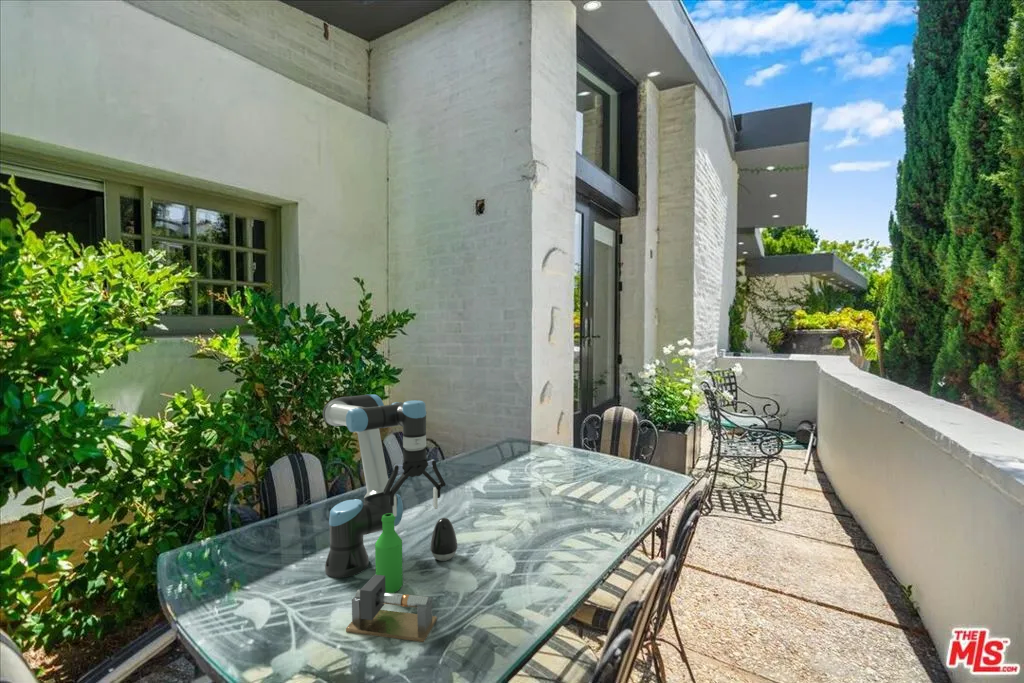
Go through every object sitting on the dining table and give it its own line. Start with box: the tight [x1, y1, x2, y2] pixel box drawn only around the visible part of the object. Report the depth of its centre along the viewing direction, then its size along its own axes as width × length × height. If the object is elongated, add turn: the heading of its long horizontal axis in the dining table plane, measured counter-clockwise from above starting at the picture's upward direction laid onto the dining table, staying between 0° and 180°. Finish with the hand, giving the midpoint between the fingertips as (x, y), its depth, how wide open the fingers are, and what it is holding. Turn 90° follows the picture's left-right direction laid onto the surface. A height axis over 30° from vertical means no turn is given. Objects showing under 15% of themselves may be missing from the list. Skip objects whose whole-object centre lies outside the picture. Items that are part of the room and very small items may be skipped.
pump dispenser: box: [430, 517, 458, 562], centre depth 173 cm, size 10×10×15 cm
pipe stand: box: [345, 588, 438, 643], centre depth 133 cm, size 24×10×10 cm, turn 78°
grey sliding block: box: [359, 574, 386, 620], centre depth 134 cm, size 4×8×8 cm, turn 168°
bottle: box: [374, 513, 404, 593], centre depth 152 cm, size 9×9×25 cm
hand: (415, 511), depth 150 cm, fingers open, 13 cm apart
